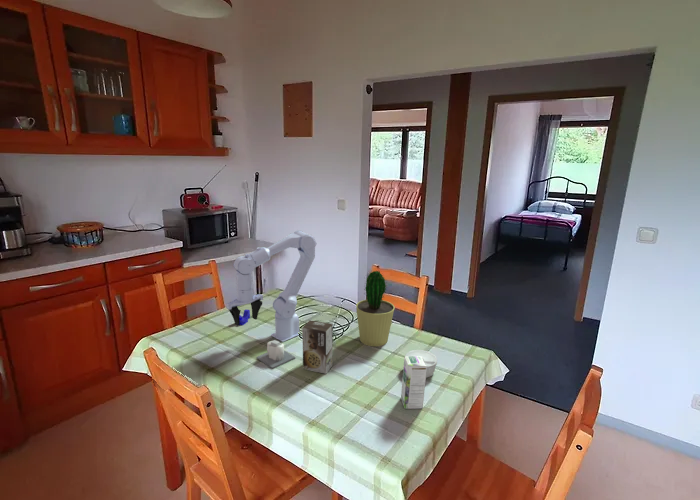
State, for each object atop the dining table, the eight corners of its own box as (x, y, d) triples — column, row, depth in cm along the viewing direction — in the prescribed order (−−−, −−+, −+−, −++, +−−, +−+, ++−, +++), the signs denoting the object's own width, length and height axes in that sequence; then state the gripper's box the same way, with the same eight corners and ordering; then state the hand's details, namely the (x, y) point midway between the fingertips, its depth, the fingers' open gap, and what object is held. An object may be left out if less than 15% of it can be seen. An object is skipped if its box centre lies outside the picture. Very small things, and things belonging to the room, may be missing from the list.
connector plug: (272, 352, 140) (271, 337, 139) (286, 357, 137) (285, 342, 135) (265, 356, 137) (264, 341, 136) (279, 361, 134) (279, 346, 132)
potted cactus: (387, 352, 143) (392, 278, 136) (350, 345, 148) (352, 272, 141) (396, 334, 158) (400, 266, 150) (361, 328, 162) (363, 262, 155)
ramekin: (416, 383, 124) (418, 369, 123) (397, 366, 134) (398, 353, 132) (442, 375, 129) (444, 361, 128) (422, 359, 139) (423, 347, 138)
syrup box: (400, 397, 117) (403, 355, 113) (418, 396, 117) (422, 355, 114) (404, 409, 111) (407, 366, 108) (423, 408, 112) (427, 365, 108)
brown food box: (333, 365, 134) (333, 323, 130) (326, 374, 128) (326, 331, 124) (309, 360, 137) (309, 319, 133) (302, 369, 131) (301, 326, 127)
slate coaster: (278, 348, 144) (278, 347, 144) (295, 358, 137) (295, 357, 137) (256, 358, 137) (256, 356, 137) (272, 369, 130) (272, 367, 130)
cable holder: (242, 325, 163) (242, 317, 162) (235, 324, 164) (235, 316, 163) (252, 318, 170) (252, 310, 169) (246, 317, 171) (245, 309, 170)
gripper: (255, 281, 148) (256, 313, 151) (221, 290, 138) (223, 324, 141) (265, 285, 143) (266, 318, 147) (231, 295, 133) (233, 330, 136)
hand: (246, 321), depth 144 cm, fingers open, 7 cm apart
